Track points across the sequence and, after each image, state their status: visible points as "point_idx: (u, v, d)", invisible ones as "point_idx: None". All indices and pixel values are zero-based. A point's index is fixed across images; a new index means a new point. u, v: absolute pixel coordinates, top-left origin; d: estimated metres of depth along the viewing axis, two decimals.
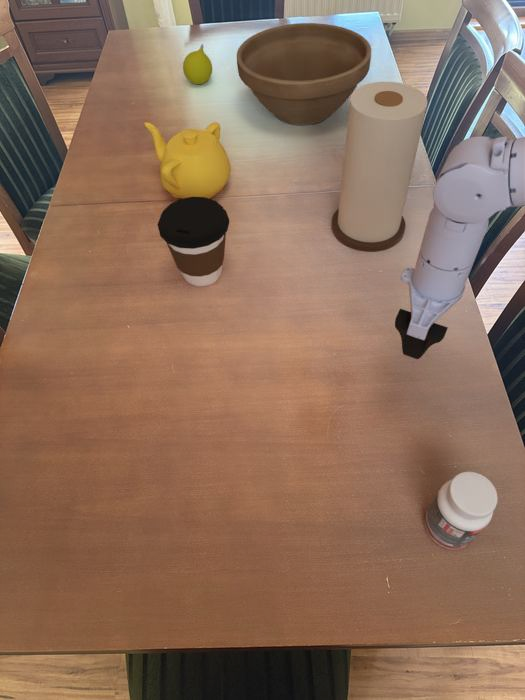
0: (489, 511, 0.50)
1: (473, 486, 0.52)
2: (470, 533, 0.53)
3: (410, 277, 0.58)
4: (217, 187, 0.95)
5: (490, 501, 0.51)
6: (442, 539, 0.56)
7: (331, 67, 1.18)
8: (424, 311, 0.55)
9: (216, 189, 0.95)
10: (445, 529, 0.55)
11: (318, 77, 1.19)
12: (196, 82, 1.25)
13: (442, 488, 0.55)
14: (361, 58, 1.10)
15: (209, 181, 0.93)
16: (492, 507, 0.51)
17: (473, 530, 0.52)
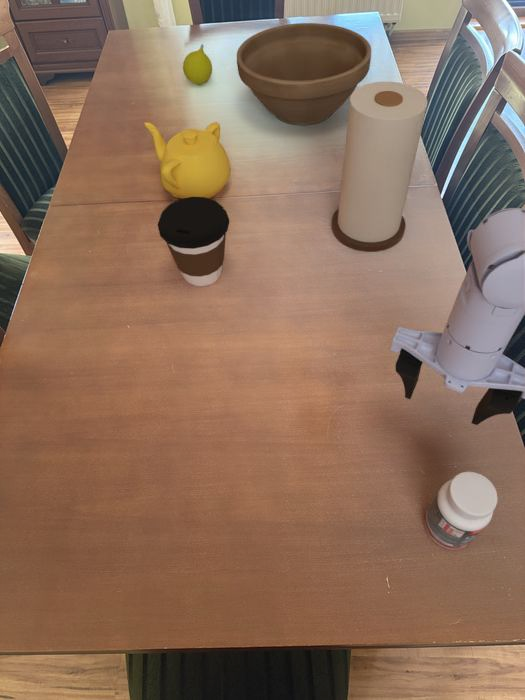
0: (489, 511, 0.50)
1: (473, 485, 0.52)
2: (470, 533, 0.53)
3: (463, 381, 0.50)
4: (217, 187, 0.95)
5: (490, 501, 0.51)
6: (442, 539, 0.56)
7: (331, 67, 1.18)
8: (515, 375, 0.50)
9: (216, 189, 0.95)
10: (445, 529, 0.55)
11: (318, 77, 1.19)
12: (196, 82, 1.25)
13: (442, 488, 0.55)
14: (361, 58, 1.10)
15: (209, 181, 0.93)
16: (492, 507, 0.51)
17: (473, 530, 0.52)
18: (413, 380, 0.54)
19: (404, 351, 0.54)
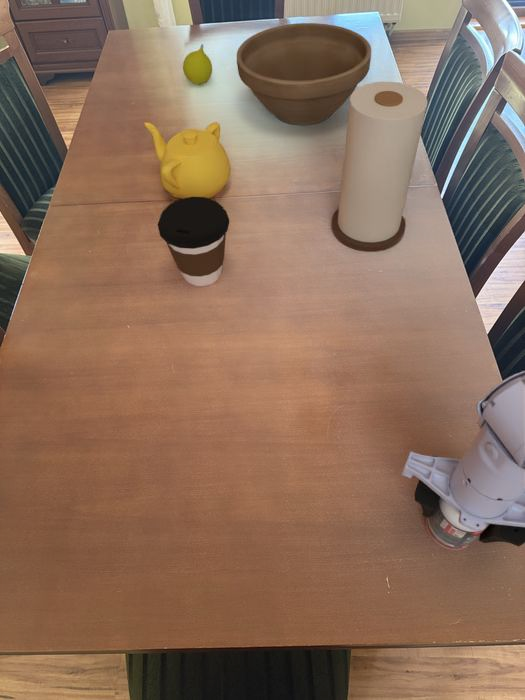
0: None
1: None
2: (472, 534, 0.53)
3: (479, 519, 0.48)
4: (217, 187, 0.95)
5: None
6: (444, 539, 0.56)
7: (331, 67, 1.18)
8: None
9: (216, 189, 0.95)
10: (446, 530, 0.55)
11: (318, 77, 1.19)
12: (196, 82, 1.25)
13: None
14: (361, 58, 1.10)
15: (209, 181, 0.93)
16: None
17: (475, 531, 0.52)
18: (433, 508, 0.53)
19: None
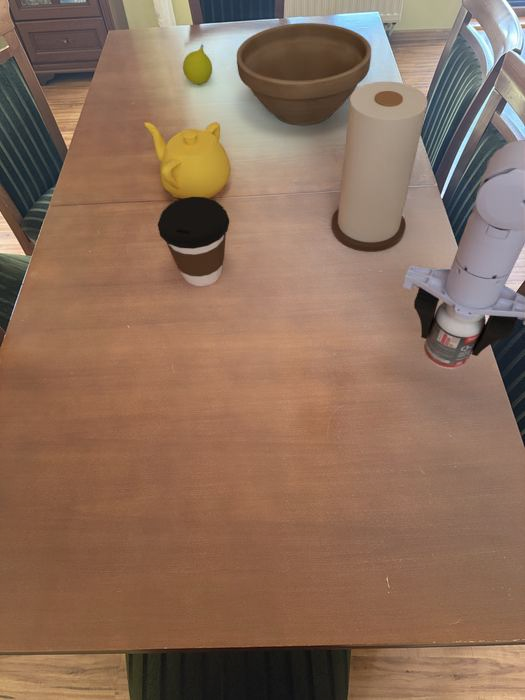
0: None
1: None
2: (465, 340, 0.59)
3: (470, 309, 0.54)
4: (217, 187, 0.95)
5: None
6: (440, 356, 0.63)
7: (331, 67, 1.18)
8: (518, 303, 0.55)
9: (216, 189, 0.95)
10: (442, 342, 0.61)
11: (318, 77, 1.19)
12: (196, 82, 1.25)
13: (440, 305, 0.61)
14: (361, 58, 1.10)
15: (209, 181, 0.93)
16: None
17: (467, 335, 0.59)
18: (430, 316, 0.59)
19: (422, 289, 0.58)
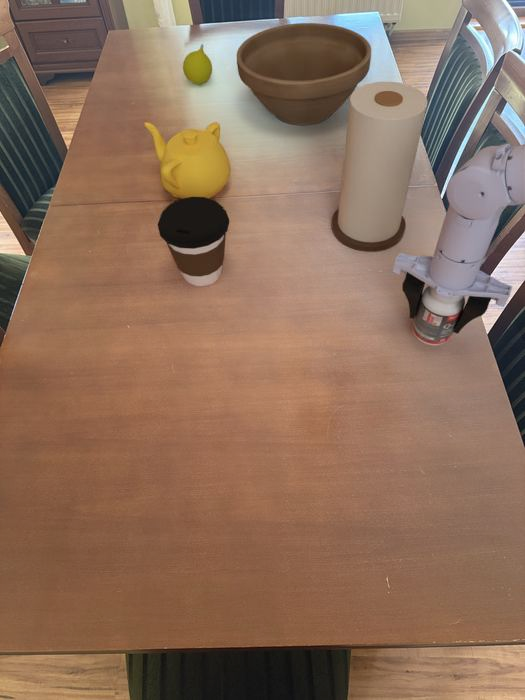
0: None
1: None
2: (447, 319, 0.68)
3: (450, 290, 0.63)
4: (217, 187, 0.95)
5: None
6: (426, 333, 0.71)
7: (331, 67, 1.18)
8: (491, 286, 0.63)
9: (216, 189, 0.95)
10: (427, 321, 0.70)
11: (318, 77, 1.19)
12: (196, 82, 1.25)
13: (425, 289, 0.70)
14: (361, 58, 1.10)
15: (209, 181, 0.93)
16: None
17: (449, 314, 0.67)
18: (416, 298, 0.68)
19: (409, 274, 0.67)
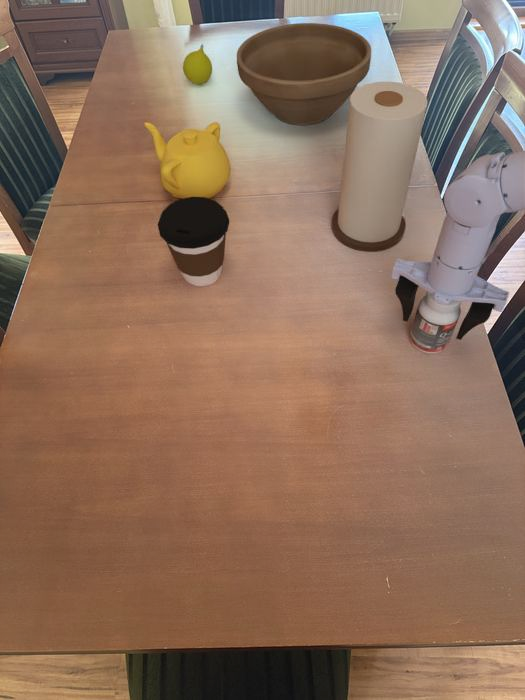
0: (456, 304, 0.67)
1: None
2: (443, 328, 0.70)
3: (448, 296, 0.64)
4: (217, 187, 0.95)
5: None
6: (422, 342, 0.73)
7: (331, 67, 1.18)
8: (488, 291, 0.64)
9: (216, 189, 0.95)
10: (424, 329, 0.71)
11: (318, 77, 1.19)
12: (196, 82, 1.25)
13: (422, 298, 0.71)
14: (361, 58, 1.10)
15: (209, 181, 0.93)
16: (458, 301, 0.67)
17: (445, 324, 0.69)
18: (409, 301, 0.69)
19: (402, 278, 0.68)
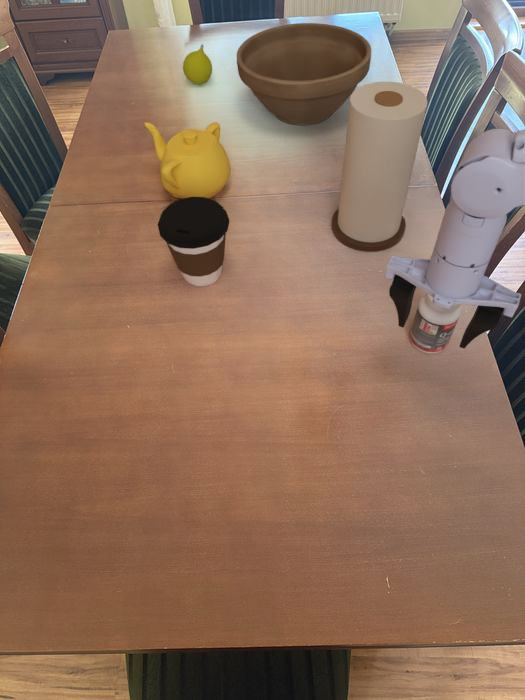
0: (456, 304, 0.67)
1: None
2: (443, 328, 0.70)
3: (450, 298, 0.55)
4: (217, 187, 0.95)
5: None
6: (422, 342, 0.73)
7: (331, 67, 1.18)
8: (497, 293, 0.55)
9: (216, 189, 0.95)
10: (424, 329, 0.71)
11: (318, 77, 1.19)
12: (196, 82, 1.25)
13: (422, 298, 0.71)
14: (361, 58, 1.10)
15: (209, 181, 0.93)
16: None
17: (445, 324, 0.69)
18: (405, 304, 0.60)
19: (397, 277, 0.59)
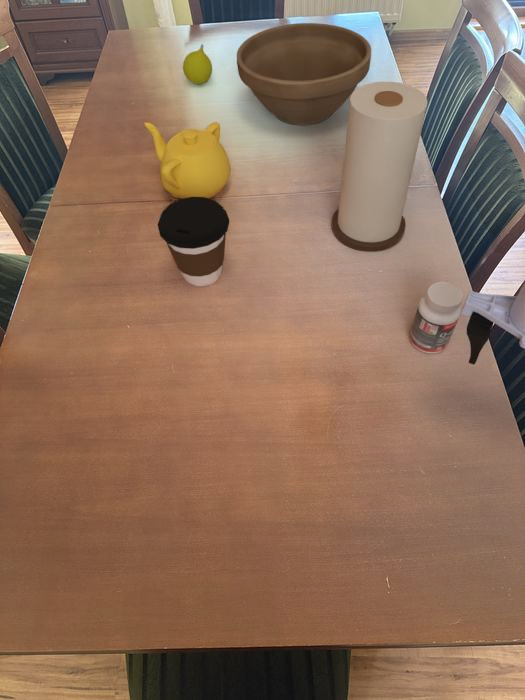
0: (456, 304, 0.67)
1: (444, 289, 0.69)
2: (443, 328, 0.70)
3: None
4: (217, 186, 0.95)
5: (457, 298, 0.68)
6: (422, 342, 0.73)
7: (331, 67, 1.18)
8: None
9: (216, 189, 0.95)
10: (424, 329, 0.71)
11: (318, 77, 1.19)
12: (196, 82, 1.25)
13: (422, 298, 0.71)
14: (361, 58, 1.10)
15: (209, 181, 0.93)
16: (458, 301, 0.67)
17: (445, 324, 0.69)
18: (483, 343, 0.56)
19: (475, 314, 0.55)
